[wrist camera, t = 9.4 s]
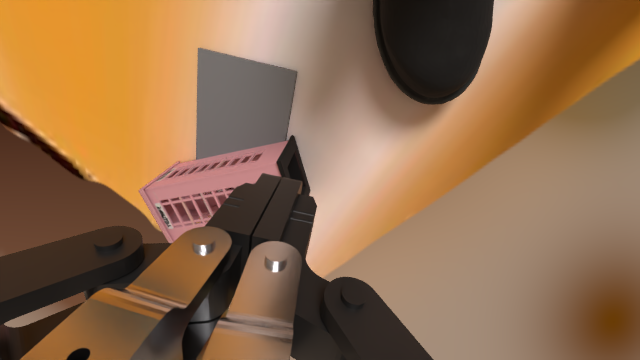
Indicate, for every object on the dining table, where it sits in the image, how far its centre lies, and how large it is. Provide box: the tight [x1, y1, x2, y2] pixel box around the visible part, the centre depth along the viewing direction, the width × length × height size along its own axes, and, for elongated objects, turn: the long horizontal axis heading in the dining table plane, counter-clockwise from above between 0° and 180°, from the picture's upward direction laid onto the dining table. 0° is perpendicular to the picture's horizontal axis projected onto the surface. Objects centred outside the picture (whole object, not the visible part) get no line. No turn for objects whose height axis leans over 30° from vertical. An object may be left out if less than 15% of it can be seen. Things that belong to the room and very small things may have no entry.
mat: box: [196, 48, 297, 188], centre depth 39 cm, size 12×18×1 cm, turn 168°
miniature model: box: [139, 135, 310, 243], centre depth 39 cm, size 9×9×20 cm
